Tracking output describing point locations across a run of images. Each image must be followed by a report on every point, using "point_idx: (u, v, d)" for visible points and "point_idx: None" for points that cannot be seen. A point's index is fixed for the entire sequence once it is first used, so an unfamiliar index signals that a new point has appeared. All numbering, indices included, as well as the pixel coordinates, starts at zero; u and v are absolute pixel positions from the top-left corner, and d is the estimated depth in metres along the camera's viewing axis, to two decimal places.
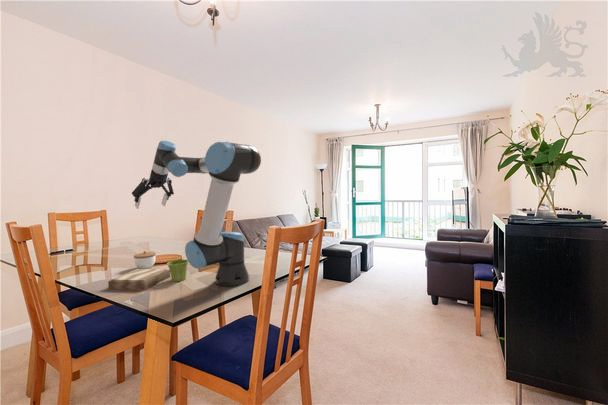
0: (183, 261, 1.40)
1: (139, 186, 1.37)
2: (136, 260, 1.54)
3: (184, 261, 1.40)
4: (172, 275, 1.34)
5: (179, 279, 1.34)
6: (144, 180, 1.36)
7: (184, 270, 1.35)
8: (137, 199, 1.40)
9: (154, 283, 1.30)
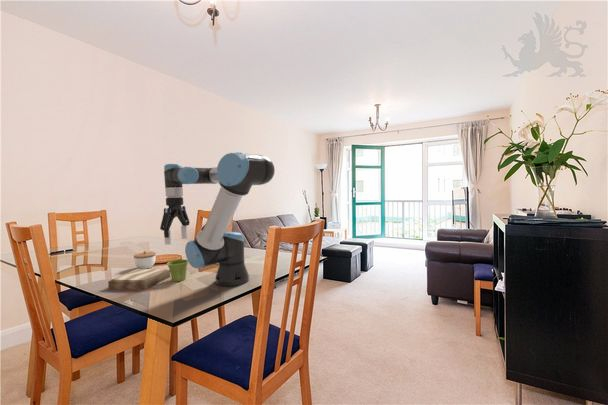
0: (183, 261, 1.40)
1: (165, 217, 1.27)
2: (136, 260, 1.54)
3: (184, 261, 1.40)
4: (172, 275, 1.34)
5: (179, 279, 1.34)
6: (167, 208, 1.28)
7: (184, 270, 1.35)
8: (167, 233, 1.28)
9: (154, 283, 1.30)
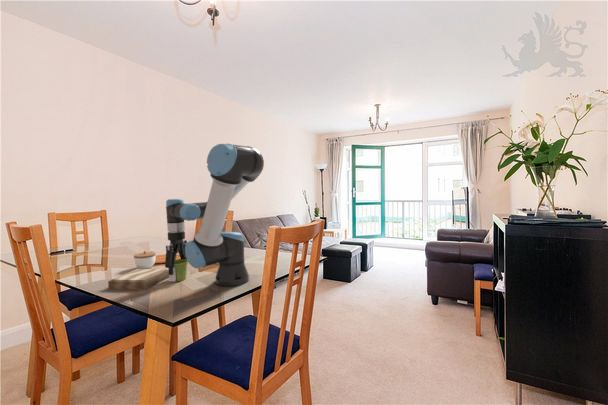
0: (183, 261, 1.40)
1: (168, 255, 1.29)
2: (136, 260, 1.54)
3: (184, 261, 1.40)
4: None
5: (179, 279, 1.34)
6: (169, 246, 1.29)
7: (184, 270, 1.35)
8: (172, 270, 1.31)
9: (154, 283, 1.30)
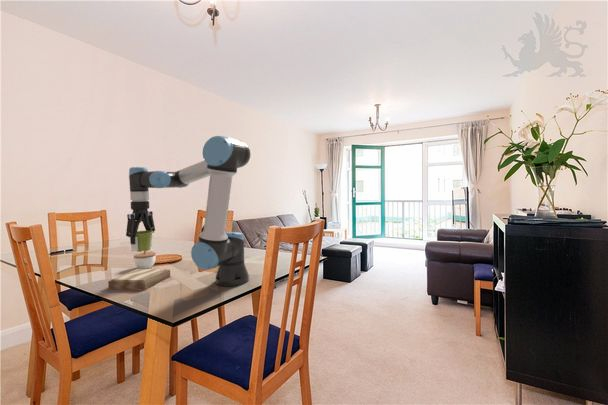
0: (148, 232, 1.37)
1: (129, 224, 1.26)
2: (136, 260, 1.54)
3: (149, 232, 1.37)
4: None
5: (142, 249, 1.31)
6: (130, 215, 1.26)
7: (148, 240, 1.32)
8: (134, 240, 1.28)
9: (154, 283, 1.30)
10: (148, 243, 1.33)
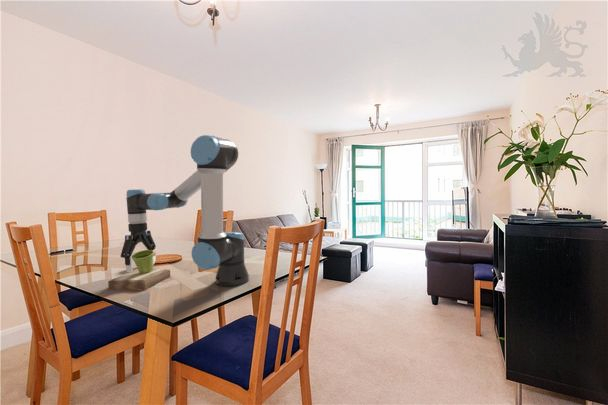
0: (149, 251, 1.39)
1: (126, 244, 1.25)
2: None
3: (150, 252, 1.39)
4: (138, 267, 1.34)
5: (146, 271, 1.35)
6: (128, 235, 1.26)
7: (150, 262, 1.35)
8: (128, 260, 1.26)
9: (154, 283, 1.30)
10: (150, 264, 1.36)
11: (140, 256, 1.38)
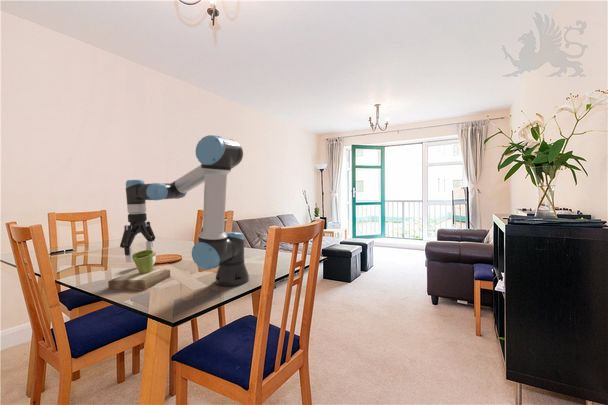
0: (148, 251, 1.39)
1: (125, 234, 1.25)
2: None
3: (149, 251, 1.39)
4: (138, 267, 1.34)
5: (146, 271, 1.35)
6: (128, 225, 1.26)
7: (150, 262, 1.35)
8: (128, 251, 1.25)
9: (154, 283, 1.30)
10: (150, 264, 1.36)
11: (140, 256, 1.38)
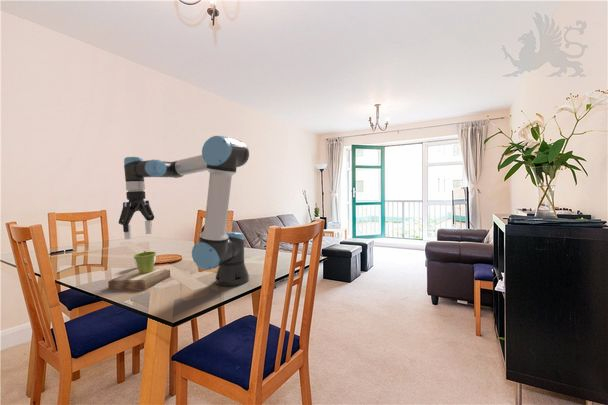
0: (151, 253, 1.41)
1: (124, 211, 1.24)
2: None
3: (152, 253, 1.41)
4: (139, 267, 1.34)
5: (146, 271, 1.35)
6: (126, 202, 1.25)
7: (151, 262, 1.36)
8: (127, 227, 1.25)
9: (154, 283, 1.30)
10: (151, 264, 1.36)
11: None
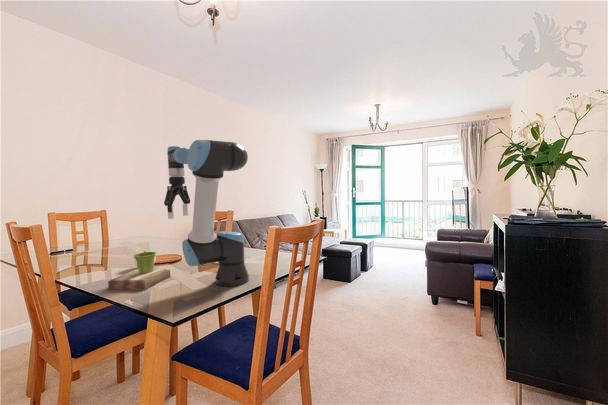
0: (151, 253, 1.41)
1: (168, 194, 1.41)
2: None
3: (152, 253, 1.41)
4: (139, 267, 1.34)
5: (146, 271, 1.35)
6: (170, 186, 1.42)
7: (151, 262, 1.36)
8: (170, 208, 1.42)
9: (154, 283, 1.30)
10: (152, 264, 1.36)
11: None
